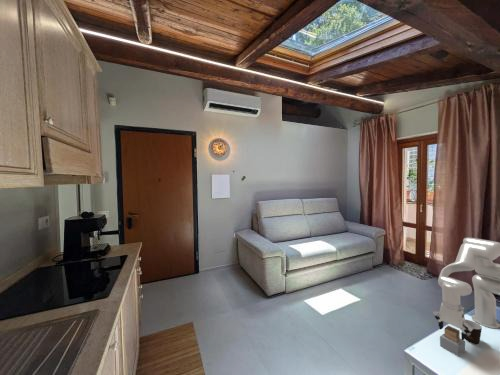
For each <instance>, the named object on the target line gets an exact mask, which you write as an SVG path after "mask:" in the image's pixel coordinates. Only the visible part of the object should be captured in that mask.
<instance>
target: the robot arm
mask: <svg viewBox="0 0 500 375" xmlns="http://www.w3.org/2000/svg"><path fill="white" fill-rule="evenodd" d="M499 257H500V242H498V241H495V240H494V241H493V240H488V239H483V238H477V237H475V238H474V237H464V238H463V240H462V244H461V245H460V247H459V250H458V253H457V256H456V259H455V261H454V262H452V263H450V264H447V265H445V267H443V268H442V269H441V270H440V273H439V275H438V280H437V283H438V285H439V286H440V288H441V293H442V294H441V296H442V298H441V299H442V301H441V304H440V308H439V311H436V310H435V311H432V314H433V315H434V318H435V319H436V320H437V322H438V327H439V330H443V329H444V323H446V324H448V325H451V326H453V327H454V328H456V329H457V328H458V329H459V330H460V331H461V333H460V335H461V339H462V340H464V341H465V339H466V338H467V333H470V332H471V331H472V330H473V328H472V327H471V326H470V325H469V324H467V323H466V322H465V320H466V317H465V313H464V310H465V307H464V306H462V304H461V297H466V296H467V297H468V296H469V295H470V294H472V292H474V314H472V315H471V319H472V321H473V322H476V323H478V324H479V325H480V326H484V327H486V328H490V329H499V328H500V323H499V322H498V321H497V300H496V297H495V295H498V296H500V263H496V262H494V261H495V260H497V259H498V258H499ZM471 271H475V272H476V273H477V274H474V275H473V276H472V277H471V280H472V286H473V287H472V286H471V285H470V284H469V283H468V282H465V281H463V280H459V279H456V278H453V277H450V275H451V274H453V273H457V272H471ZM464 326H466V327H468V329H467V330H466V328H465V327H464Z"/></svg>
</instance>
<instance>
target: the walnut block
mask: <svg viewBox="0 0 500 375" xmlns="http://www.w3.org/2000/svg"><path fill="white" fill-rule="evenodd" d="M460 331H461V330H460V329H457V328H456V327H454V326H453V327H452V325H451V326H450V325H447V326H445V327H444V333H445V337H446V338H448V339H450V340H452V341H454V342H457V341H458V340H459V339H461V338H460V335H461V333H460Z"/></svg>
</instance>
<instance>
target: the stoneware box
mask: <svg viewBox="0 0 500 375" xmlns="http://www.w3.org/2000/svg"><path fill="white" fill-rule="evenodd" d="M439 347H441V348H442V349H445V350H446V351H449V352H450V353H451V354H453V355H455V356H457V357H459V356H461V355H462V354H463V353H465V352H466V340H465V339H464V340H462V338H460V339H459V340H458V341H457V342H454V341H452V340H450V339H448V338H446V337H445V332H444V333H443V334H442V335H440V336H439Z"/></svg>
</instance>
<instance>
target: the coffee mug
mask: <svg viewBox="0 0 500 375" xmlns="http://www.w3.org/2000/svg"><path fill="white" fill-rule="evenodd" d="M465 322H466V323H467V324H469V325H470V326H471V327H472V328H473V330H472V331H471V332H470V333H467V338H466V339H464V341H465V342H468V343H470V344H472V345H480V341H481V336H482V335H481V334H482V328H483V327H482V325H481V324H479V323H477V322H475V321H474V320H471V319H470V320H469V319H465ZM464 327H465V328H466V330H467V329H468V327H466V326H464Z"/></svg>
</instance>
